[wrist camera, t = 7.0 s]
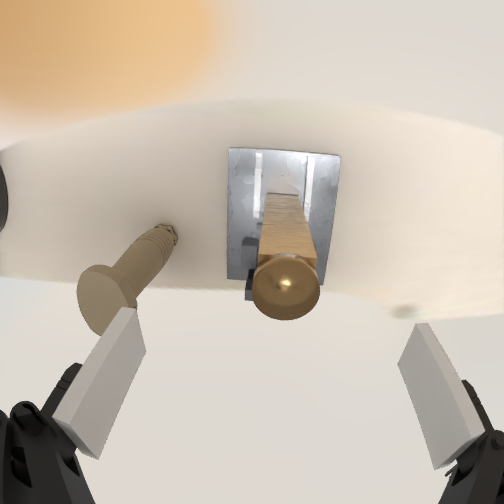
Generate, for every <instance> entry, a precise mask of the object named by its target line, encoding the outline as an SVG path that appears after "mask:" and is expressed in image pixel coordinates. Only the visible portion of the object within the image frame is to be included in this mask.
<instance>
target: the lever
mask: <svg viewBox="0 0 504 504" xmlns="http://www.w3.org/2000/svg"><path fill="white" fill-rule="evenodd" d="M316 265H317V254H316V251H315V247H314V244H313V241H312V237H311V234H310V231H309V227H308V224H307V221H306V217H305V214H304V211H303V208H302V205H301V202H300V198H299V196H293V195H279V194H266V201H265V209H264V216H263V223H262V231H261V238H260V245H259V252H258V267H257V269H256V271H255V273H254V278H253V284H252V299H253V301H254V303H255V305H256V307H257V308H258V309H259V310H260V311H261V312H262V313H263V314H265V315H267V316H268V317H270V318H273V319H277V320H293V319H297V318H300V317H302V316H304V315H306V314H307V313H308V312H310V311H311V310H312V309H313V308H314V306H315V305H316V303H317V301H318V299H319V295H320V286H319V282H318V278H317V273H316Z"/></svg>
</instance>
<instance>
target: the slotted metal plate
mask: <svg viewBox="0 0 504 504" xmlns="http://www.w3.org/2000/svg"><path fill="white" fill-rule="evenodd" d="M340 160H341V157H340V156H338V155H332V154H323V153H313V152H303V151H291V150H277V149H261V148H237V147H231V148H229V166H228V219H227V279H236V280H247V282H246V288H245V300H249V301H253V299H252V284H253V278H254V273H255V271H256V269H257V267H258V252H259V245H260V238H261V231H262V223H263V216H264V209H265V201H266V194H279V195H293V196H299V198H300V202H301V205H302V208H303V211H304V214H305V217H306V221H307V224H308V227H309V231H310V234H311V237H312V241H313V244H314V247H315V251H316V254H317V265H316V273H317V278H318V282H319V285H323V282H324V277H325V271H326V265H327V259H328V253H329V247H330V240H331V234H332V227H333V220H334V212H335V204H336V196H337V188H338V179H339V170H340Z"/></svg>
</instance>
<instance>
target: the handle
mask: <svg viewBox="0 0 504 504" xmlns="http://www.w3.org/2000/svg"><path fill="white" fill-rule="evenodd" d="M176 242H177V236H176V235H175V234H174V232H173V228H172V227H171V226H163V225H162V224H160V225H157V226H155V227H154V229H152V230H149V231H148V232H146V233H145V234H143V235H142V236H141V237H139V238H138V239H137V240H136V241H135V242H134V243H133V244H132V245H131V246H130V247H129V248H128V250H127V251H126V252H125V253H124V254H123V255H122V257H121V258H120V259H119V260H118V261H117V262H116V264H115V265H114V266H113V267H112V268H111V267H108V266H105V265H94V266H91V267H89V268H88V269H86V270H85V271H84V272H83V273H82V274H81V276H80V279H79V282H78V285H77V297H78V304H79V308H80V311H81V313H82V316H83V317H84V319H85V321H86V322H87V324H88V326H89V327H90V329H92V331H93V332H95V333H96V334H98V335H99V336H102V335H103V333H104V332H105V330H106V329H107V327H108V326H109V325H110V323H111V322H112V320H113V319H114V317H115V316H116V314H117V313H118V312H119V310H120V309H121V307H127V308H134V309H136V311H137V301H136V298H137V296H138V295H139V294H140V293H141V292H142V291H143V289H144V288H145V287H146V286H147V285H148V284H149V282H150V281H151V280H152V279H153V278H154V277H155V276H156V275H157V274H158V272H159V271H160V270H161V269H162V267H163V266H164V265H165V263H166V262H167V260H168V258H169V256H170V255H171V253H172V250H173V247H174V246H175V245H176Z"/></svg>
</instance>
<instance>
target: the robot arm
mask: <svg viewBox="0 0 504 504" xmlns="http://www.w3.org/2000/svg"><path fill="white" fill-rule="evenodd" d="M7 208H8V201H7V190H6V184H5V180H4V176H3V173H2V170H1V168H0V231H1V230H2V228H3V227H4V224H5V221H6V217H7ZM145 353H146V349H145V345H144V342H143V337H142V333H141V329H140V325H139V320H138V315H137V311H136V309H134V308H127V307H121V309H120V310H119V312H118V313H117V314H116V316H115V317H114V319H113V320H112V322H111V323H110V325H109V326H108V327H107V329H106V330H105V332H104V333H103V335H102V336H101V338H100V339H99V341H98V342H97V344H96V345H95V347H94V349H93V350H92V352H91V353H90V355H89V356H88V358H87V359H86V361H85V363H84V364H83V365H82V364H79V363H74V364H73V365H72V366H70V367H69V368H68V369H66V371H65V372H64V374H63V376H62V377H61V380H59V382H58V383H57V385H56V387H55V388H54V390H53V391H52V393H51V395H50V396H49V398H48V399H47V401H46V403H45V404H44V406H43V408H42V409H41V411H39V409H38V408H37V407H36V406H35V405H34V404H33V403H32V402H29V401H22V402H19V403H17V404H16V405H15V406H14V407H13V408H12V410H11V412H10V418H8V417H7V415H6V414H5V413H4V412H3V411H2V410H0V504H95V502H94V500H93V497H92V495H91V493H90V490H89V488H88V485H87V483H86V481H85V478H84V476H83V473H82V470H81V468H80V465H79V462H78V459H77V456H76V454H75V453H74V452H75V450H76V448H78V449H79V450H80V451H81V452H82V453H83V454H85V455H87V456H90V457H93V458H95V459H99V457H100V455H101V452H102V450H103V447H104V445H105V443H106V440H107V438H108V435H109V433H110V431H111V428H112V426H113V424H114V421H115V419H116V417H117V414H118V412H119V410H120V407H121V405H122V403H123V401H124V398H125V396H126V394H127V392H128V390H129V387H130V385H131V383H132V381H133V379H134V376H135V374H136V372H137V370H138V367H139V366H140V364H141V361H142V359H143V357H144V355H145ZM398 366H399V369H400V371H401V374H402V377H403V379H404V381H405V384H406V387H407V389H408V392H409V395H410V397H411V400H412V403H413V406H414V408H415V411H416V414H417V417H418V420H419V423H420V425H421V428H422V431H423V434H424V438H425V440H426V444H427V447H428V450H429V453H430V457H431V460H432V463H433V467H434V470H436V469H440V468H443V467H445V466H448V465H450V463H452V462H453V461H454V460H455V459H456V460H457V464H456V465H455V466H454V467H453V468H452V469H450V470H449V471H448V472H447V473H446V474H445V476H448V475H449V474H450V473H452V474H451V476H450V477H449V478H450V479H449V481H448V483H447V486H446V488H445V490H444V493H443V495H442V497H441V499H440V501H439V503H438V504H504V433H503V432H502V431H499V430H494V428H493V427H492V424H491V422H490V420H489V418H488V416H487V414H486V412H485V410H484V408H483V406H482V404H481V402H480V400H479V398H478V397H477V394H476V392H475V390H474V388H473V387H472V386H471V385H470V384H469V383H468V382H467V381H466V380H460V378H459V376H458V374H457V372H456V370H455V368H454V367H453V365H452V363H451V361H450V359H449V358H448V356H447V354H446V353H445V351H444V349H443V347H442V346H441V344H440V343H439V341H438V339H437V338H436V336H435V334H434V332H433V331H432V329H431V327H430V326H429V324H428V323H422V324H415V326H414V329H413V331H412V334H411V336H410V338H409V340H408V343H407V345H406V347H405V349H404V351H403V354H402V356H401V358H400V360H399V362H398Z"/></svg>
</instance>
